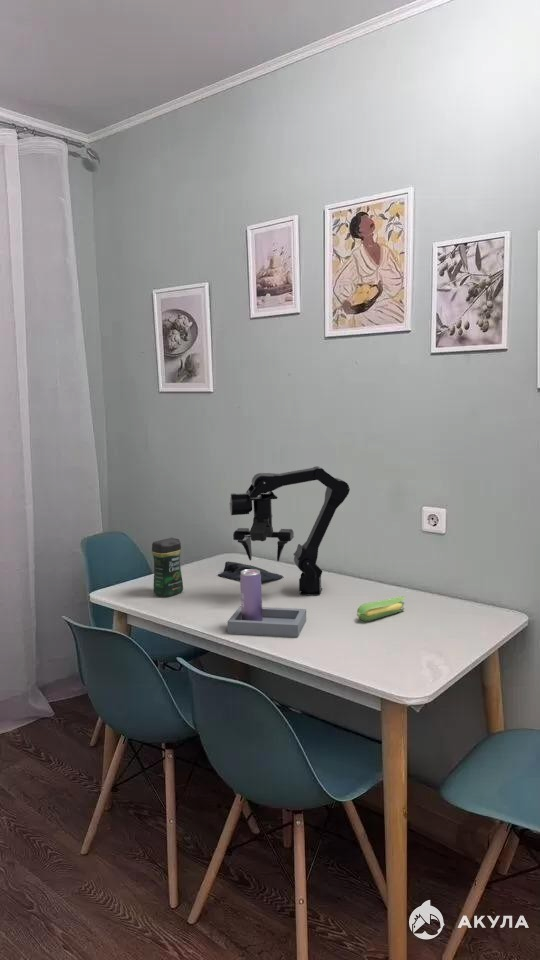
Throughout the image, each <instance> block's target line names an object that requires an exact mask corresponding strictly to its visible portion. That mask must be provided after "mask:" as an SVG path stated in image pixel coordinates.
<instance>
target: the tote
mask: <svg viewBox="0 0 540 960" xmlns="http://www.w3.org/2000/svg"><path fill="white" fill-rule="evenodd" d="M231 615H232V616H230V618H229V619H228V620H227V622H226V623H227V634H231V635H248V636H249V635H250V636H252V635H253V636H265V637H266V636H268V637H285V638H287V637H289V638H299V636H300V634H301V633H302V631H303V628H304V627H305V624H306V623H307V609H306V608H292V607H291V608H289V607H269V606H268V607H267V606H262V618H263V620H262V621H249V620H242V612H241V605H239V607H238V608H237V609H235V611H234V613H233V614H231Z"/></svg>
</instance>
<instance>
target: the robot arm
mask: <svg viewBox="0 0 540 960" xmlns="http://www.w3.org/2000/svg"><path fill="white" fill-rule="evenodd" d="M312 481H318V482H320V483H321V484H322V485H323V486H325V487H326V489H325V493H324V501H323V503H322V506H321V509H320V511H319V512H318V513H319V514H318V515H317V517H316V519H315V522H314V524H313V526H312V529H311V531H310V533H309V535H308V537H307V539H306V541H305V542H304V543H303V544H302V545H301V544H300V543H299V544H298V545H297V546H296V550H295V552H294V553H293V557H294V558H293V562H294V565H296V567H297V569H299V571H301V574H300V577H299V579H298V586H299V589H298V590H299V595H302V596H303V595H305V596H306V595H307V596H320V595H321V593H322V592H323V587H322V574H323V570H322V569H321V567H319V565H318V564H317V561H318V555H319V554H318V553H319V547H320V546H321V544H322V541H323V539H324V537H325V535H326V532H327V530H328V528H329V526H330V524H331V522H332V519H333V517H334V514H335V513H336V510H337V509H338V508H339V506H340V505H342V504H343V503H344V501H345V500H346V498H347V497H348V495H349V493H350V491H351V489H350V486H349V484H348V482H346V481H345V480H343V479H340V478H338V477H334V476H332V475H331V474H330V473H328V472H327V471H326V470H325V469H323V468H322V467H320V466H314V467H310V468H302V469H298V470H293V471H287V472H281V473H274V472H273V473H271V472H259V473H256V474H254V476H253V477H252V479H251V484H250V486H249V488H247V490H246V492H245V493H230V500H229V501H230V502H229V511H230V512H229V513H230V516H238V515H239V516H241V515H250V513H252V512H253V519H252V520H253V521H252V525H251V527H250V529H249V527H238V528H237V529H236V530H235V531H234V532H233V536H232V537H233V540H234V541H237V542H238V543H239V544H241V545H242V546H243V548H244V551H245V552H246V555H247V557H248V559H249V561H252V557H253V554H252V542H256V541H261V542H265V541H266V540H267V538H273V539H274V538H275V539H276V538H277V539H278V541H277V551H276V554H277V555H276V561H277V562H279V561H280V559H281V556H282V553H283V550H284V547H285V545H286V544H288V543H289V542H291V541H292V540H293V538H294V537H295V536H294V533H295V532H294V530H293V529H292V528H280V529H279V531H274V529H273V511H272V509H273V508H272V500H278V496H277V495H276V494H275V493H274V492H273V491H275V490H277V489H280V488H282V487H285V486H290V485H296V484H297V485H298V484H302V483H307V482H312ZM251 541H252V542H251Z"/></svg>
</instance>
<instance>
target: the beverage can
mask: <svg viewBox="0 0 540 960" xmlns="http://www.w3.org/2000/svg"><path fill="white" fill-rule="evenodd" d="M239 583H240V606H241V612H242V620H249V621H262V620H263V618H262V607H263V598H262V597H263V596H262V591H263V590H262V583H261V574H260V571H259V570H256V569H247V570H243V571H241V575H240V580H239Z"/></svg>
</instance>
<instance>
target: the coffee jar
mask: <svg viewBox="0 0 540 960" xmlns="http://www.w3.org/2000/svg"><path fill="white" fill-rule="evenodd" d="M151 545H152V546H151V554H152V557H153V574H154V575H153V594H154V595H155V596H157V597H161V598H162V597H164V598H165V597H166V598H167V597H171V596H175V595H178V594H181V593H183V591H184V583H183V577H182V568H181V567H182V566H181V554H182V545H181V540H180V539H179V538H177V537H168V538H165V539H164V538H163V539H160V540H156V541H153V542H152V544H151Z"/></svg>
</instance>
